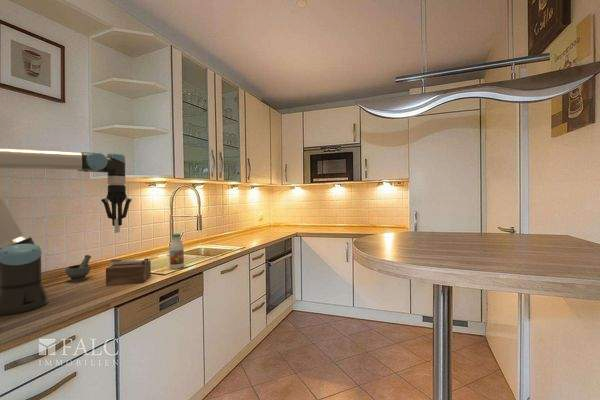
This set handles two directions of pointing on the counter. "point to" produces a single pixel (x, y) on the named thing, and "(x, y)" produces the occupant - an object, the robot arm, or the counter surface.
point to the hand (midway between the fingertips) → (117, 232)
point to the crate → (128, 273)
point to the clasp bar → (126, 261)
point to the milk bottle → (176, 252)
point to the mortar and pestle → (79, 270)
